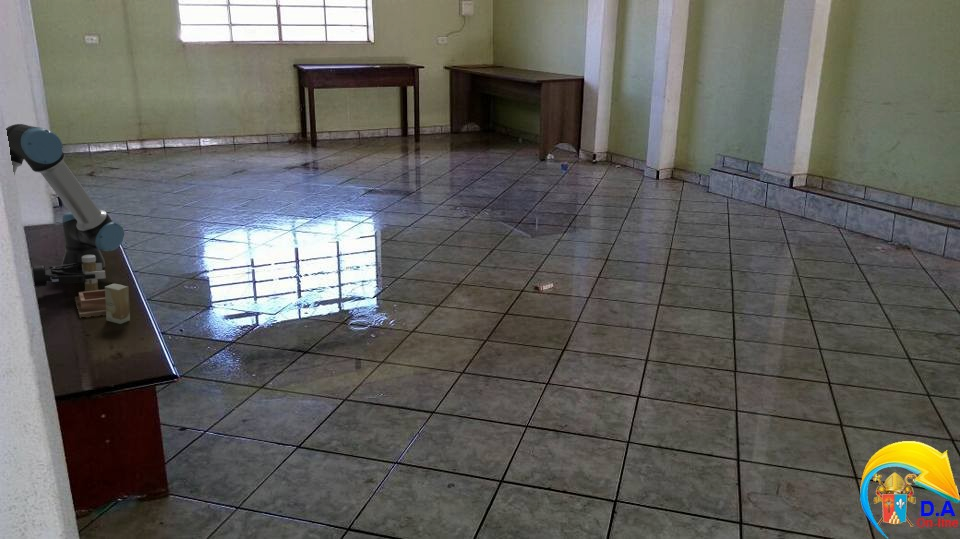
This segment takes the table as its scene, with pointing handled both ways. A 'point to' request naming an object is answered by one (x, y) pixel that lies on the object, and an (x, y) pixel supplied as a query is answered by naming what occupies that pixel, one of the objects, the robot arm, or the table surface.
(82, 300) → the collar plate
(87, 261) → the sprinkles bottle
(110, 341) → the table surface
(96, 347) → the table surface
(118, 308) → the skincare box
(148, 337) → the table surface
